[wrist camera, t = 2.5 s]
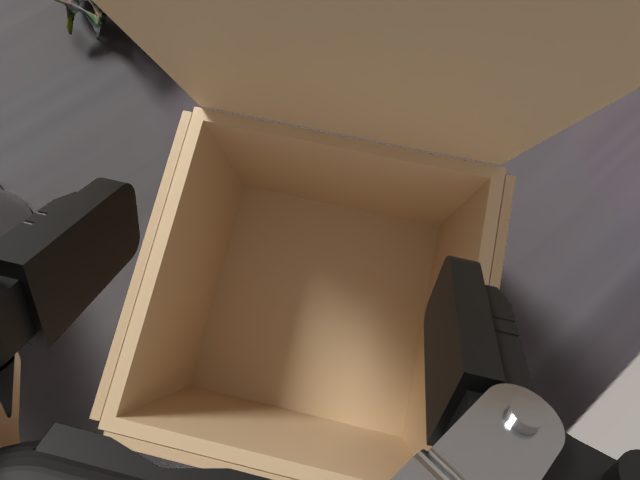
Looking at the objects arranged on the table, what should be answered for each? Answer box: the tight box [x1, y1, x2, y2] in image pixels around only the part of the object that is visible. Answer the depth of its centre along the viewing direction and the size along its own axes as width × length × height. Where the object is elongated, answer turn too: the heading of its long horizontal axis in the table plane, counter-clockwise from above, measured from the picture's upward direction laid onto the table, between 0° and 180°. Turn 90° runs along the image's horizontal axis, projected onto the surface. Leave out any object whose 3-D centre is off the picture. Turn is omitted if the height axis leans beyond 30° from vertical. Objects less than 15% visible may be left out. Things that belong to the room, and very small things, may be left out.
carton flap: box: [92, 0, 640, 165], centre depth 18 cm, size 20×19×1 cm
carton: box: [89, 107, 516, 480], centre depth 32 cm, size 21×21×14 cm
